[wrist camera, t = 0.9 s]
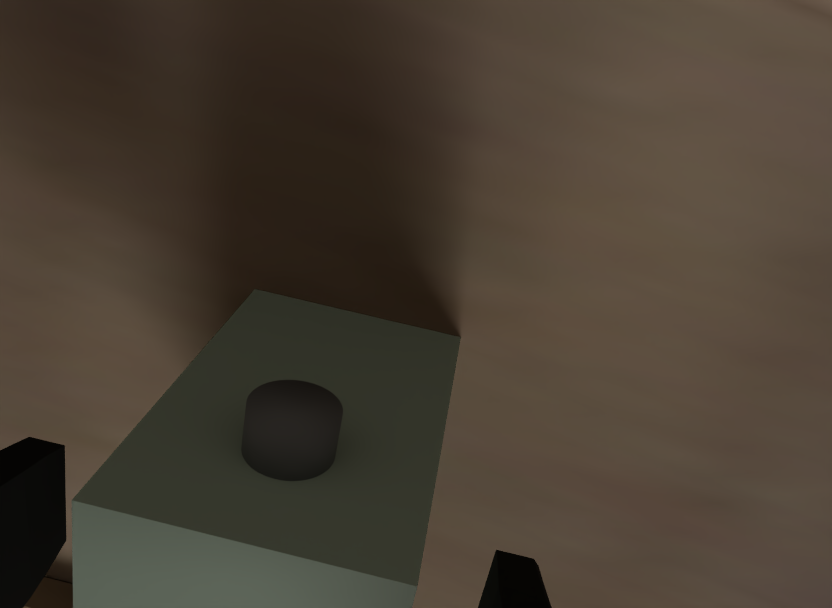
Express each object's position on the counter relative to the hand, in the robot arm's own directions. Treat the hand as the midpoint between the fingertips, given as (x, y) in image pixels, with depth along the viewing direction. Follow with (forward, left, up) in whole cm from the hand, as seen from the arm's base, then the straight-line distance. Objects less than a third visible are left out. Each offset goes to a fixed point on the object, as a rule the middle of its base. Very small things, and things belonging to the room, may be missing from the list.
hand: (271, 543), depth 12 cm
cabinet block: (0, 0, -5) cm, 5 cm away
